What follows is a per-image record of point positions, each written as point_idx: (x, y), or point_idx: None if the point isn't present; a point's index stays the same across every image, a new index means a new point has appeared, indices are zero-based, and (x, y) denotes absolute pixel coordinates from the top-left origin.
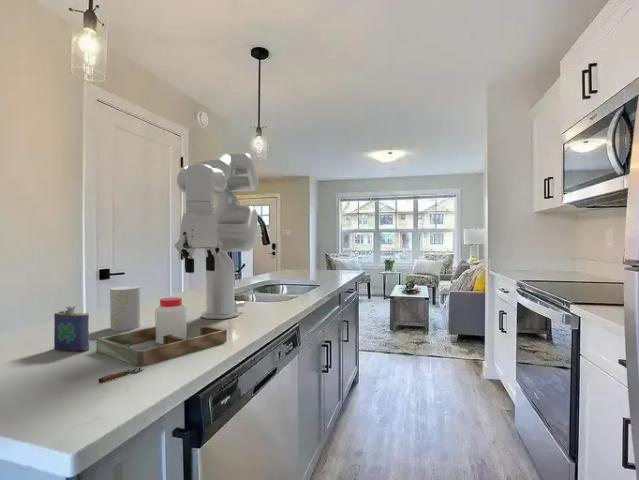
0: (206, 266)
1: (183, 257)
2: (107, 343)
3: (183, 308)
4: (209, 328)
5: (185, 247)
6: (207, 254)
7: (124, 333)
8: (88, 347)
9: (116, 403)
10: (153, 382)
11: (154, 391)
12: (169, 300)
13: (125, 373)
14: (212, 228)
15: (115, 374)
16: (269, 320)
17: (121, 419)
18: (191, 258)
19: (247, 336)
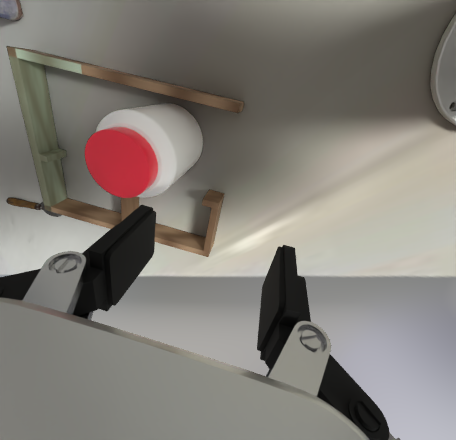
0: (278, 262)
1: (61, 258)
2: (22, 105)
3: (148, 196)
4: (210, 217)
5: (20, 310)
6: (288, 337)
7: (68, 67)
8: (15, 18)
9: (15, 251)
10: (55, 249)
11: None
12: (99, 182)
13: (37, 209)
14: None
15: (24, 206)
16: (425, 246)
17: (12, 272)
18: (101, 298)
19: (258, 259)
